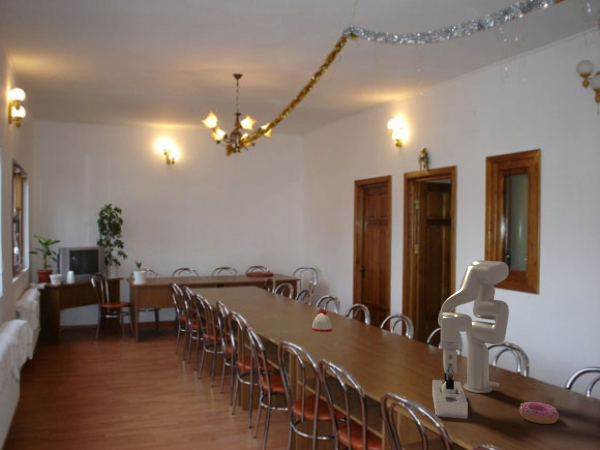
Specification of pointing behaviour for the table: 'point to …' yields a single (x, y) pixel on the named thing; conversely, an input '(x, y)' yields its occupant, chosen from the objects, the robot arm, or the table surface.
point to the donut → (539, 412)
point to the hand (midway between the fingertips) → (448, 385)
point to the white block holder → (449, 401)
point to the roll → (448, 389)
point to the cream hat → (321, 322)
